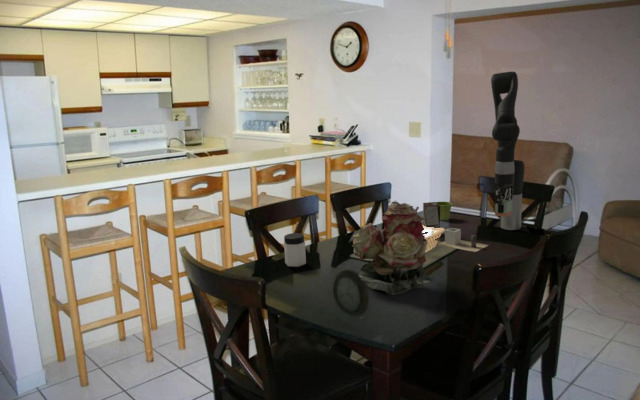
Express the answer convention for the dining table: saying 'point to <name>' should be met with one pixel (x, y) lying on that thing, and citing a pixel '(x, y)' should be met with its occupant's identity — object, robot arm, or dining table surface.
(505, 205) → the sage sleeve
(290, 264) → the jar
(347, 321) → the dining table surface
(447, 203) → the plant pot
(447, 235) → the grey sleeve
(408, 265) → the rose bouquet
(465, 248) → the pin board
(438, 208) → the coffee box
